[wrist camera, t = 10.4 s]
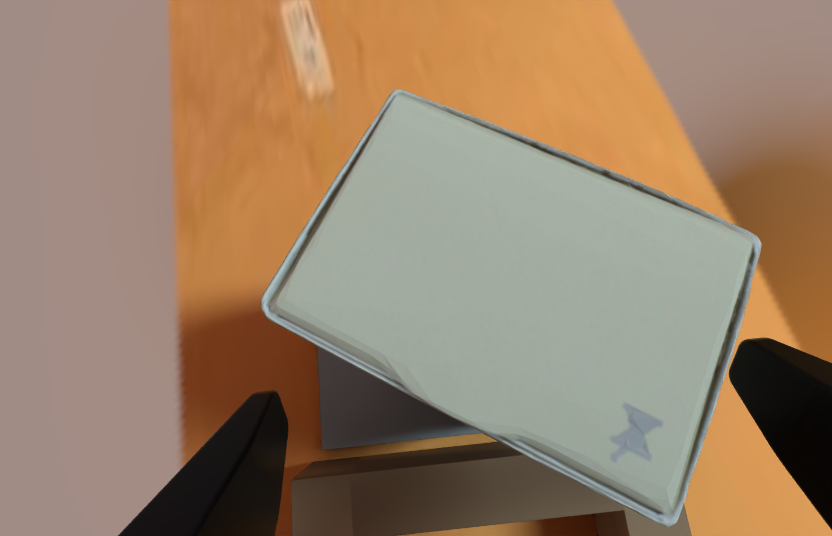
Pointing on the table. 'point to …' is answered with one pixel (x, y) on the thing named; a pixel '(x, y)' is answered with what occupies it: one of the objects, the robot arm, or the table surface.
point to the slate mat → (373, 409)
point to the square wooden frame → (450, 495)
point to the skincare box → (525, 297)
